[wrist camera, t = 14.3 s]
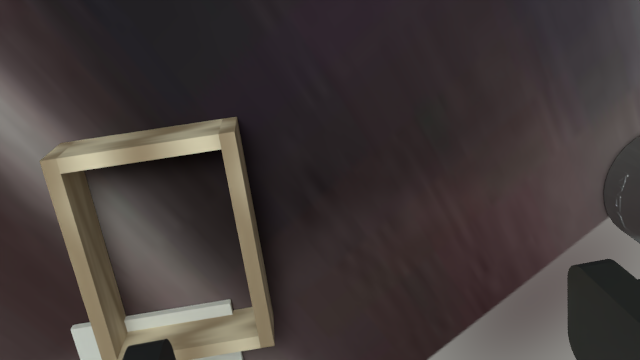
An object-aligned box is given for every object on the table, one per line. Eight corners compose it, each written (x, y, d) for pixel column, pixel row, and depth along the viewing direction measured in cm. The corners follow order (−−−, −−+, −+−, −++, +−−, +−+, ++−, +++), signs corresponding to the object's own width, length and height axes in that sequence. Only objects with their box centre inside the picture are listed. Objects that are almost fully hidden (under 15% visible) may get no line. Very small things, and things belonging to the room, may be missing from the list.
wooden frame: (236, 116, 40) (234, 131, 36) (273, 314, 45) (274, 345, 42) (60, 143, 39) (39, 161, 36) (119, 340, 45) (106, 373, 41)
